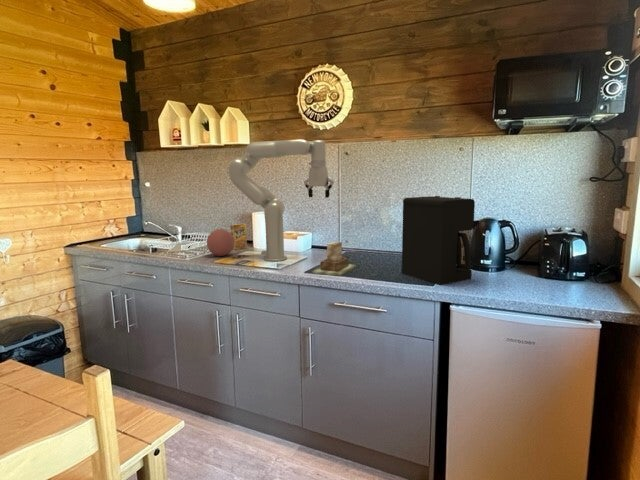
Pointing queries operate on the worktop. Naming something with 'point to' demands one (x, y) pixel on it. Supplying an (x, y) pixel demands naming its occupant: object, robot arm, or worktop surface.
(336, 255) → the tan mottled block
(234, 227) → the candy box
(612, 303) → the worktop surface
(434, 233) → the coffee maker
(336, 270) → the brown open box
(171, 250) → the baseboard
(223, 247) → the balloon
